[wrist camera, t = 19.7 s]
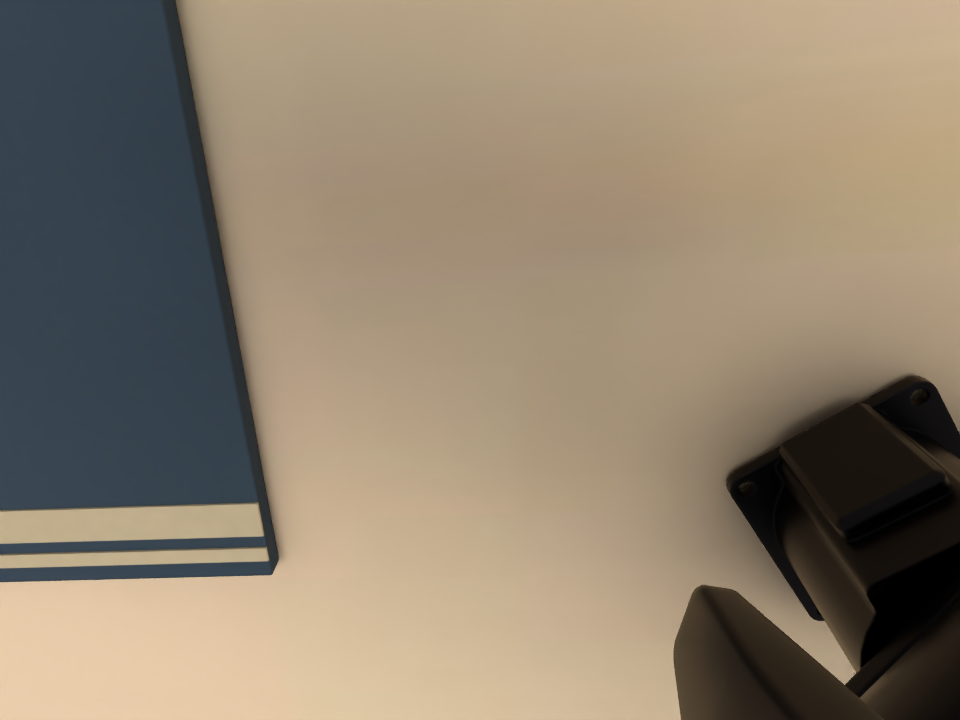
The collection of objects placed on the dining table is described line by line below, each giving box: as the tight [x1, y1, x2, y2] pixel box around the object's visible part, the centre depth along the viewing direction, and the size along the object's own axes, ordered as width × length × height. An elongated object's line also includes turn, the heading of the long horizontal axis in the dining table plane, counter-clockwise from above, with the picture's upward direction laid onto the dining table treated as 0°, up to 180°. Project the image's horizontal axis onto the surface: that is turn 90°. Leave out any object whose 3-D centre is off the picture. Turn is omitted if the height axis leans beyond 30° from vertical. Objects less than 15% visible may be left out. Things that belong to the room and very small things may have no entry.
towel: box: [0, 0, 278, 582], centre depth 20 cm, size 20×11×1 cm, turn 3°
